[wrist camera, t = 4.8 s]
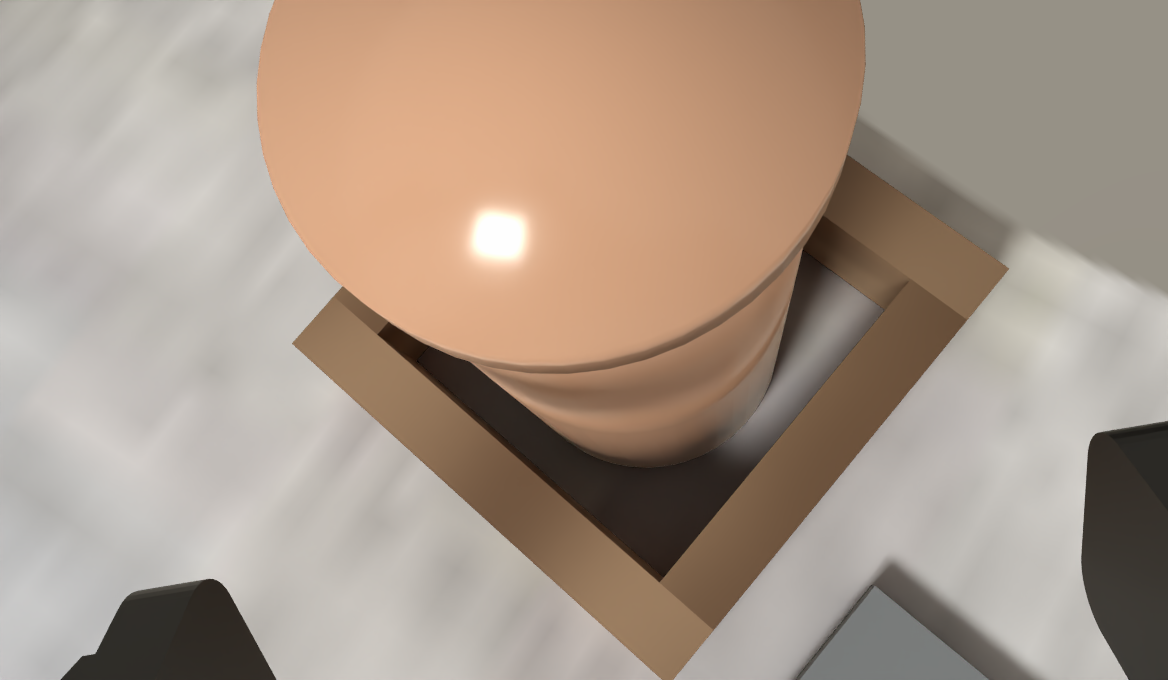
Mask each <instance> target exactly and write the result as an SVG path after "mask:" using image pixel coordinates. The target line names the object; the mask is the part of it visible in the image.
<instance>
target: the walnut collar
mask: <svg viewBox="0 0 1168 680" xmlns="http://www.w3.org/2000/svg"><path fill="white" fill-rule="evenodd" d="M803 250H804V251H806V252H807V253H808V254H810V255H811V256H812V257H814V258H815V259H817V260H818V261H819V262H821V263H822V264H823V265H825V266H826V267H827V268H829V269H830V270H831V271H833V272H834V273H835V274H837V275H838V276H840V277H841V278H842V279H844V280H845V281H846V282H848V283H849V284H850V285H852V286H853V287H854V288H856V289H857V290H858V291H860V292H861V293H862V294H864V295H865V296H867V297H868V298H869V299H871V300H872V301H873V302H875V303H876V304H877V305H879V306H880V307H881V308H883V309H884V310H885V311H884V312H883V313H882V314H881V316H880V317H879V318H878V319H877V320H876V322H875V323H874V324H873V325H872V327H871V328H870V329H869V330H868V331H867V333H866V334H865V335H864V336H863V337H862V339H861V340H860V341H859V342H858V343H857V345H856V346H855V347H854V348H853V349H852V351H851V352H850V353H849V354H848V356H847V357H846V358H845V359H844V360H843V362H842V363H841V364H840V365H839V366H838V368H837V369H836V370H835V371H834V372H833V374H832V375H831V376H830V377H829V378H828V380H827V381H826V382H825V383H824V385H823V386H822V387H821V388H820V389H819V391H818V392H817V393H816V394H815V395H814V397H813V398H812V399H811V400H810V401H809V403H808V404H807V405H806V406H805V407H804V409H803V410H802V411H801V412H800V414H799V415H798V416H797V417H796V418H795V420H794V421H793V422H792V423H791V424H790V426H789V427H788V428H787V429H786V430H785V432H784V433H783V434H782V435H781V436H780V438H779V439H778V440H777V441H776V443H775V444H774V445H773V446H772V447H771V449H770V450H769V451H768V452H767V453H766V455H765V456H764V457H763V458H762V459H761V461H760V462H759V463H758V464H757V465H756V467H755V468H754V469H753V470H752V472H751V473H750V474H749V475H748V476H747V478H746V479H745V480H744V481H743V482H742V484H741V485H740V486H739V487H738V488H737V490H736V491H735V492H734V493H733V494H732V496H731V497H730V498H729V499H728V501H727V502H726V503H725V504H724V505H723V507H722V508H721V509H720V510H719V511H718V513H717V514H716V515H715V516H714V517H713V519H712V520H711V521H710V522H709V523H708V525H707V526H706V527H705V528H704V530H703V531H702V532H701V533H700V534H699V536H698V537H697V538H696V539H695V540H694V542H693V543H692V544H691V545H690V546H689V548H688V549H687V550H686V551H685V552H684V554H683V555H682V556H681V557H680V559H679V560H678V561H677V562H676V563H675V565H674V566H673V567H672V568H671V569H670V571H669V572H668V573H667V574H666V575H665V577H664V578H663V577H662V576H661V575H660V574H659V573H658V572H656V571H655V570H654V569H653V568H652V567H651V566H650V565H648V564H647V563H646V562H645V561H644V560H643V559H642V558H640V557H639V556H638V555H637V554H636V553H635V552H634V551H632V550H631V549H630V548H629V547H628V546H627V545H626V544H624V543H623V542H622V541H621V540H620V539H619V538H618V537H616V536H615V535H614V534H613V533H612V532H611V531H610V530H609V529H607V528H606V527H605V526H604V525H603V524H602V523H601V522H599V521H598V520H597V519H596V518H595V517H594V516H593V515H591V514H590V513H589V512H588V511H587V510H586V509H585V508H583V507H582V506H581V505H580V504H579V503H578V502H577V501H575V500H574V499H573V498H572V497H571V496H570V495H569V494H567V493H566V492H565V491H564V490H563V489H562V488H561V487H559V486H558V485H557V484H556V483H555V482H554V481H553V480H551V479H550V478H549V477H548V476H547V475H546V474H545V473H543V472H542V471H541V470H540V469H539V468H538V467H537V466H535V465H534V464H533V463H532V462H531V461H530V460H529V459H527V458H526V457H525V456H524V455H523V454H522V453H521V452H519V451H518V450H517V449H516V448H515V447H514V446H513V445H511V444H510V443H509V442H508V441H507V440H506V439H505V438H503V437H502V436H501V435H500V434H499V433H498V432H497V431H495V430H494V429H493V428H492V427H491V426H490V425H489V424H487V423H486V422H485V421H484V420H483V419H482V418H481V417H480V416H478V415H477V414H476V413H475V412H474V411H473V410H472V409H470V408H469V407H468V406H467V405H466V404H465V403H464V402H462V401H461V400H460V399H459V398H458V397H457V396H456V395H454V394H453V393H452V392H451V391H450V390H449V389H448V388H446V387H445V386H444V385H443V384H442V383H441V382H440V381H438V380H437V379H436V378H435V377H434V376H433V375H432V374H430V373H429V372H428V371H427V370H426V369H425V368H424V367H422V366H421V365H420V364H419V363H418V362H417V361H416V360H417V359H418V358H419V357H420V356H421V355H422V354H423V352H424V351H425V350H426V349H427V348H428V347H429V346H428V345H426V344H424V343H422V342H420V341H418V340H417V339H415V338H414V337H412V336H410V335H409V334H407V333H405V332H404V331H402V330H401V329H399V328H397V327H396V326H394V325H392V324H391V323H390V322H388V321H387V320H386V319H384V318H383V317H381V316H380V315H379V314H377V313H376V312H375V311H373V310H372V309H371V308H369V307H368V306H367V305H365V304H364V303H363V302H361V301H360V300H359V299H358V298H357V297H355V296H354V295H353V294H352V293H351V292H349V291H348V290H347V289H346V288H345V287H342V288H341V289H340V290H339V291H338V292H337V293H336V295H335V296H334V297H333V298H332V299H331V300H330V301H329V302H328V304H327V305H326V306H325V307H324V308H323V309H322V310H321V311H320V313H319V314H318V315H317V316H316V317H315V318H314V319H313V320H312V322H311V323H310V324H309V325H308V326H307V327H306V328H305V329H304V331H303V332H302V333H301V334H300V335H299V336H298V337H297V338H296V340H295V341H294V342H293V343H292V344H293V345H294V346H295V347H296V348H297V349H299V350H300V351H301V352H302V353H303V354H304V355H305V356H306V357H307V358H308V359H310V360H311V361H312V362H313V363H314V364H315V365H316V366H317V367H318V368H319V369H321V370H322V371H323V372H324V373H325V374H326V375H327V376H328V377H329V378H330V379H332V380H333V381H334V382H335V383H336V384H337V385H338V386H339V387H340V388H342V389H343V390H344V391H345V392H346V393H347V394H348V395H349V396H350V397H351V398H353V399H354V400H355V401H356V402H357V403H358V404H359V405H360V406H361V407H362V408H364V409H365V410H366V411H367V412H368V413H369V414H370V415H371V416H372V417H373V418H375V419H376V420H377V421H378V422H379V423H380V424H381V425H382V426H383V427H384V428H386V429H387V430H388V431H389V432H390V433H391V434H392V435H393V436H394V437H395V438H397V439H398V440H399V441H400V442H401V443H402V444H403V445H404V446H405V447H406V448H408V449H409V450H410V451H411V452H412V453H413V454H414V455H415V456H416V457H417V458H419V459H420V460H421V461H422V462H423V463H424V464H425V465H426V466H427V467H428V468H430V469H431V470H432V471H433V472H434V473H435V474H436V475H437V476H438V477H439V478H441V479H442V480H443V481H444V482H445V483H446V484H447V485H448V486H449V487H450V488H452V489H453V490H454V491H455V492H456V493H457V494H458V495H459V496H460V497H461V498H463V499H464V500H465V501H466V502H467V503H468V504H469V505H470V506H471V507H472V508H474V509H475V510H476V511H477V512H478V513H479V514H480V515H481V516H482V517H483V518H485V519H486V520H487V521H488V522H489V523H490V524H491V525H492V526H493V527H494V528H496V529H497V530H498V531H499V532H500V533H501V534H502V535H503V536H504V537H506V538H507V539H508V540H509V541H510V542H511V543H512V544H513V545H514V546H515V547H517V548H518V549H519V550H520V551H521V552H522V553H523V554H524V555H525V556H526V557H528V558H529V559H530V560H531V561H532V562H533V563H534V564H535V565H536V566H537V567H539V568H540V569H541V570H542V571H543V572H544V573H545V574H546V575H547V576H548V577H550V578H551V579H552V580H553V581H554V582H555V583H556V584H557V585H558V586H559V587H561V588H562V589H563V590H564V591H565V592H566V593H567V594H568V595H569V596H570V597H572V598H573V599H574V600H575V601H576V602H577V603H578V604H579V605H580V606H581V607H583V608H584V609H585V610H586V611H587V612H588V613H589V614H590V615H591V616H592V617H594V618H595V619H596V620H597V621H598V622H599V623H600V624H601V625H602V626H603V627H605V628H606V629H607V630H608V631H609V632H610V633H611V634H612V635H613V636H614V637H616V638H617V639H618V640H619V641H620V642H621V643H622V644H623V645H624V646H625V647H627V648H628V649H629V650H630V651H631V652H632V653H633V654H634V655H635V656H636V657H638V658H639V659H640V660H641V661H642V662H643V663H644V664H645V665H646V666H647V667H649V668H650V669H651V670H652V671H653V672H654V673H655V674H656V675H657V676H658V677H660V678H661V679H662V680H673V679H674V678H675V677H676V675H677V674H678V673H679V672H680V671H681V669H682V668H683V667H684V666H685V664H686V663H687V662H688V661H689V660H690V658H691V657H692V656H693V655H694V653H695V652H696V651H697V650H698V649H699V647H700V646H701V645H702V644H703V642H704V641H705V640H706V639H707V638H708V636H709V635H710V634H711V633H712V631H713V630H714V629H715V628H716V627H717V625H718V624H719V623H720V622H721V620H722V619H723V618H724V617H725V616H726V614H727V613H728V612H729V611H730V609H731V608H732V607H733V606H734V605H735V603H736V602H737V601H738V600H739V598H740V597H741V596H742V595H743V594H744V592H745V591H746V590H747V589H748V587H749V586H750V585H751V584H752V583H753V581H754V580H755V579H756V578H757V576H758V575H759V574H760V573H761V572H762V570H763V569H764V568H765V567H766V565H767V564H768V563H769V562H770V561H771V559H772V558H773V557H774V556H775V554H776V553H777V552H778V551H779V550H780V548H781V547H782V546H783V545H784V543H785V542H786V541H787V540H788V539H789V537H790V536H791V535H792V534H793V532H794V531H795V530H796V529H797V528H798V526H799V525H800V524H801V523H802V521H803V520H804V519H805V518H806V517H807V515H808V514H809V513H810V512H811V510H812V509H813V508H814V507H815V506H816V504H817V503H818V502H819V501H820V499H821V498H822V497H823V496H824V495H825V493H826V492H827V491H828V490H829V488H830V487H831V486H832V485H833V484H834V482H835V481H836V480H837V479H838V477H839V476H840V475H841V474H842V473H843V471H844V470H845V469H846V468H847V466H848V465H849V464H850V463H851V461H852V460H853V459H854V458H855V457H856V455H857V454H858V453H859V452H860V450H861V449H862V448H863V447H864V446H865V444H866V443H867V442H868V441H869V439H870V438H871V437H872V436H873V435H874V433H875V432H876V431H877V430H878V428H879V427H880V426H881V425H882V424H883V422H884V421H885V420H886V419H887V417H888V416H889V415H890V414H891V413H892V411H893V410H894V409H895V408H896V406H897V405H898V404H899V403H900V402H901V400H902V399H903V398H904V397H905V395H906V394H907V393H908V392H909V391H910V389H911V388H912V387H913V386H914V384H915V383H916V382H917V381H918V380H919V378H920V377H921V376H922V375H923V373H924V372H925V371H926V370H927V369H928V367H929V366H930V365H931V364H932V362H933V361H934V360H935V359H936V358H937V356H938V355H939V354H940V353H941V351H942V350H943V349H944V348H945V347H946V345H947V344H948V343H949V342H950V340H951V339H952V338H953V337H954V336H955V334H956V333H957V332H958V331H959V329H960V328H961V327H962V326H963V325H964V323H965V322H966V321H967V320H968V318H969V317H970V316H971V315H972V314H973V312H974V311H975V310H976V309H977V307H978V306H979V305H980V304H981V303H982V301H983V300H984V299H985V298H986V296H987V295H988V294H989V293H990V292H991V290H992V289H993V288H994V287H995V285H996V284H997V283H998V282H999V281H1000V279H1001V278H1002V277H1003V276H1004V274H1005V273H1006V272H1007V271H1008V270H1009V268H1007V267H1006V266H1005V265H1003V264H1002V263H1000V262H999V261H998V260H996V259H995V258H993V257H992V256H990V255H989V254H988V253H986V252H985V251H983V250H982V249H980V248H979V247H978V246H976V245H975V244H973V243H972V242H970V241H969V240H968V239H966V238H965V237H963V236H962V235H960V234H959V233H958V232H956V231H955V230H953V229H952V228H951V227H949V226H948V225H946V224H945V223H943V222H942V221H941V220H939V219H938V218H936V217H935V216H933V215H932V214H931V213H929V212H928V211H926V210H925V209H923V208H922V207H921V206H919V205H918V204H916V203H915V202H913V201H912V200H911V199H909V198H908V197H906V196H905V195H904V194H902V193H901V192H899V191H898V190H896V189H895V188H894V187H892V186H891V185H889V184H888V183H886V182H885V181H884V180H882V179H881V178H879V177H878V176H876V175H875V174H874V173H872V172H871V171H869V170H868V169H866V168H865V167H864V166H862V165H861V164H859V163H858V162H857V161H855V160H854V159H852V158H851V157H849V156H848V155H846V159H845V162H844V166H843V169H842V173H841V176H840V178H839V181H838V183H837V185H836V188H835V190H834V192H833V195H832V197H831V199H830V202H829V204H828V206H827V209H826V211H825V213H824V214H823V216H822V218H821V219H820V221H819V223H818V224H817V226H816V227H815V229H814V231H813V232H812V234H811V236H810V237H809V239H808V241H807V242H806V244H805V245H804V246H803Z"/></svg>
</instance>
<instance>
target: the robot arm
mask: <svg viewBox="0 0 1168 680" xmlns="http://www.w3.org/2000/svg"><path fill="white" fill-rule="evenodd" d="M1081 564H1082V575H1083V581H1084V586H1085V590H1086V594H1087V598H1088V601H1089V604H1090V607H1091V610H1092V613H1093V615H1094V618H1095V620H1096V622H1097V625H1098V627H1099V629H1100V631H1101V632H1102V634H1103V636H1104V638H1105V639H1106V641H1107V643H1108V645H1109V646H1110V648H1111V650H1112V652H1113V653H1114V655H1115V657H1116V658H1117V660H1118V662H1119V664H1120V665H1121V667H1122V669H1123V670H1124V672H1125V674H1126V676H1127V677H1128V679H1129V680H1168V421H1165V422H1159V423H1153V424H1147V425H1141V426H1135V427H1129V428H1123V429H1117V430H1111V431H1105V432H1099V433H1097V434H1095V435H1094V436H1093V437H1092V439H1091V441H1090V445H1089V449H1088V460H1087V476H1086V492H1085V508H1084V524H1083V540H1082V556H1081ZM61 680H276V678H275V676H274V674H273V673H272V671H271V669H270V667H269V665H268V663H267V662H266V660H265V658H264V656H263V654H262V652H261V651H260V649H259V647H258V645H257V643H256V641H255V640H254V638H253V636H252V634H251V632H250V630H249V629H248V627H247V625H246V623H245V621H244V619H243V618H242V616H241V614H240V612H239V610H238V608H237V607H236V605H235V603H234V601H233V599H232V598H231V596H230V594H229V592H228V591H227V589H226V588H225V587H224V586H223V585H222V584H221V583H220V582H218V581H217V580H214V579H206V580H200V581H194V582H188V583H182V584H176V585H170V586H164V587H158V588H152V589H146V590H140V591H136V592H133V593H131V594H130V595H129V596H127V597H126V599H125V600H124V601H123V602H122V604H121V605H120V607H119V609H118V611H117V613H116V615H115V617H114V619H113V621H112V622H111V624H110V626H109V628H108V630H107V632H106V634H105V636H104V638H103V640H102V642H101V644H100V646H99V648H98V650H97V652H96V654H93V655H87V656H82V657H81V658H80V659H79V660H78V661H77V662H76V664H75V665H74V666H73V667H72V668H71V669H70V670H69V671H68V672H67V673H66V674H65V675H64V677H63V678H62V679H61Z"/></svg>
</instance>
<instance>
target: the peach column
mask: <svg viewBox="0 0 1168 680" xmlns="http://www.w3.org/2000/svg"><path fill="white" fill-rule="evenodd" d="M865 65H866V63H865V26H864V20H863V14H862V9H861V3H860V0H275V1H274V4H273V6H272V9H271V11H270V14H269V18H268V22H267V26H266V30H265V34H264V38H263V42H262V46H261V52H260V61H259V69H258V78H257V117H258V125H259V131H260V138H261V144H262V150H263V155H264V159H265V162H266V165H267V168H268V172H269V175H270V178H271V181H272V185H273V188H274V190H275V192H276V194H277V196H278V199H279V201H280V203H281V205H282V207H283V209H284V211H285V213H286V215H287V217H288V220H289V222H290V223H291V225H292V226H293V227H294V229H295V230H296V232H297V233H298V235H299V236H300V238H301V239H302V241H303V242H304V244H305V245H306V247H307V248H308V250H309V251H310V253H311V254H312V255H313V256H314V257H315V258H316V259H317V260H318V261H319V263H320V264H321V265H322V266H323V267H324V268H325V269H326V270H327V271H328V273H329V274H330V275H331V276H332V277H333V278H334V279H335V280H336V281H337V282H339V283H340V284H341V285H342V286H343V287H345V288H346V289H347V290H348V291H349V292H351V293H352V294H353V295H354V296H355V297H357V298H358V299H359V300H360V301H361V302H363V303H364V304H365V305H367V306H368V307H369V308H371V309H372V310H373V311H375V312H376V313H377V314H379V315H380V316H381V317H383V318H384V319H386V320H387V321H388V322H390V323H391V324H392V325H394V326H396V327H397V328H399V329H401V330H402V331H404V332H405V333H407V334H409V335H410V336H412V337H414V338H415V339H417V340H418V341H420V342H422V343H424V344H426V345H428V346H431V347H433V348H435V349H437V350H440V351H442V352H444V353H447V354H449V355H451V356H453V357H456V358H459V359H463V360H466V361H470V362H471V363H472V364H473V365H475V366H476V367H477V368H478V369H480V370H481V371H482V372H483V373H485V374H486V375H487V376H488V377H489V378H491V379H492V380H493V381H494V382H496V383H497V384H498V385H499V386H500V387H502V388H503V389H504V390H505V391H507V392H508V393H509V394H510V395H512V396H513V397H514V398H515V399H516V400H518V401H519V402H520V403H521V404H523V405H524V406H525V407H526V408H528V409H529V410H530V411H531V412H532V413H534V414H535V415H536V416H537V417H539V418H540V419H541V420H542V421H543V422H545V423H546V424H547V425H548V426H550V427H551V428H552V429H553V430H555V431H556V432H557V433H558V434H559V435H561V436H562V437H563V438H564V439H566V440H567V441H568V442H569V443H570V444H572V445H574V446H575V447H577V448H578V449H580V450H582V451H583V452H585V453H587V454H589V455H591V456H594V457H596V458H598V459H600V460H604V461H607V462H610V463H614V464H617V465H623V466H630V467H644V468H654V467H663V466H671V465H675V464H679V463H683V462H687V461H689V460H692V459H694V458H697V457H700V456H702V455H704V454H706V453H708V452H710V451H711V450H713V449H715V448H717V447H718V446H720V445H721V444H723V443H724V442H725V441H727V440H728V439H729V438H731V437H732V436H733V435H734V434H735V433H736V432H737V431H738V430H739V429H740V428H741V427H742V426H744V425H745V423H746V422H747V421H748V420H749V418H750V417H751V416H752V414H753V413H754V412H755V411H756V409H757V407H758V406H759V404H760V402H761V401H762V399H763V397H764V395H765V393H766V391H767V388H768V386H769V384H770V381H771V378H772V374H773V371H774V367H775V363H776V359H777V355H778V351H779V347H780V342H781V338H782V334H783V330H784V326H785V321H786V317H787V313H788V309H789V305H790V300H791V296H792V292H793V288H794V284H795V279H796V275H797V271H798V267H799V263H800V258H801V254H802V250H803V246H804V245H805V244H806V242H807V241H808V239H809V237H810V236H811V234H812V232H813V231H814V229H815V227H816V226H817V224H818V223H819V221H820V219H821V218H822V216H823V214H824V213H825V211H826V209H827V206H828V204H829V202H830V199H831V197H832V195H833V192H834V190H835V188H836V185H837V183H838V181H839V178H840V176H841V173H842V169H843V166H844V162H845V159H846V155H847V152H848V148H849V145H850V141H851V138H852V134H853V130H854V127H855V123H856V119H857V116H858V112H859V108H860V105H861V97H862V90H863V81H864V73H865Z"/></svg>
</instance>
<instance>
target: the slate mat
mask: <svg viewBox="0 0 1168 680" xmlns="http://www.w3.org/2000/svg"><path fill="white" fill-rule="evenodd" d="M796 680H989V679H988V678H986V677H985V676H984V675H983V674H982V673H980V672H979V671H978V670H977V669H976V668H974V667H973V666H972V665H971V664H969V663H968V662H967V661H966V660H965V659H963V658H962V657H961V656H960V655H959V654H957V653H956V652H955V651H954V650H952V649H951V648H950V647H949V646H948V645H946V644H945V643H944V642H943V641H942V640H940V639H939V638H938V637H937V636H935V635H934V634H933V633H932V632H931V631H929V630H928V629H927V628H926V627H925V626H923V625H922V624H921V623H920V622H918V621H917V620H916V619H915V618H914V617H912V616H911V615H910V614H909V613H908V612H906V611H905V610H904V609H903V608H901V607H900V606H899V605H898V604H897V603H895V602H894V601H893V600H892V599H891V598H889V597H888V596H887V595H886V594H884V593H883V592H882V591H881V590H880V589H878V588H877V587H876V586H872V585H871V587H870V588H869V589H868V590H867V592H866V593H865V594H864V595H863V597H862V598H861V599H860V600H859V602H858V603H857V604H856V605H855V607H854V608H853V609H852V610H851V612H850V613H849V614H848V615H847V616H846V618H845V619H844V620H843V621H842V623H841V624H840V625H839V626H838V628H837V629H836V630H835V631H834V633H833V634H832V635H831V636H830V638H829V639H828V640H827V641H826V643H825V644H824V645H823V646H822V648H821V649H820V650H819V651H818V652H817V654H816V655H815V656H814V657H813V659H812V660H811V661H810V662H809V664H808V665H807V666H806V667H805V669H804V670H803V671H802V672H801V674H800V675H799V676H798V677H797V679H796Z"/></svg>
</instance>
